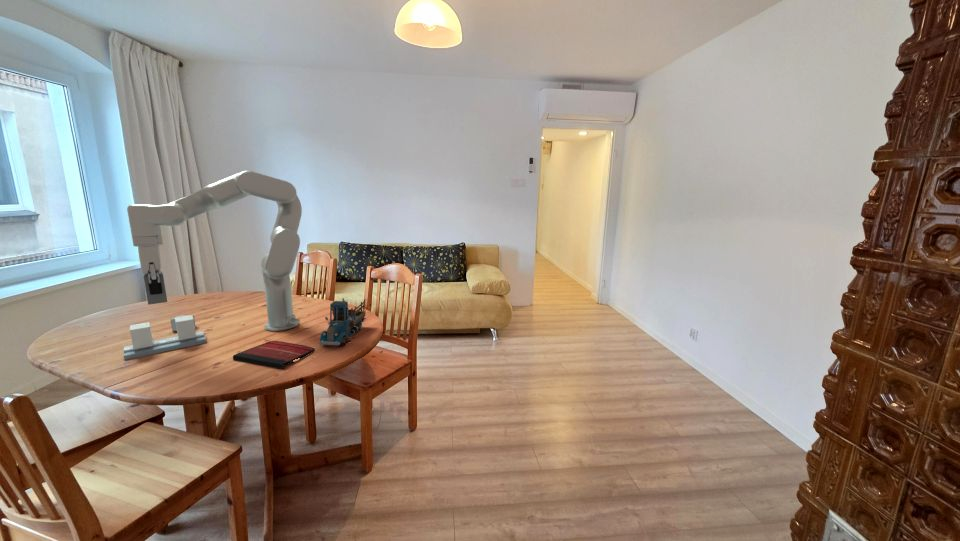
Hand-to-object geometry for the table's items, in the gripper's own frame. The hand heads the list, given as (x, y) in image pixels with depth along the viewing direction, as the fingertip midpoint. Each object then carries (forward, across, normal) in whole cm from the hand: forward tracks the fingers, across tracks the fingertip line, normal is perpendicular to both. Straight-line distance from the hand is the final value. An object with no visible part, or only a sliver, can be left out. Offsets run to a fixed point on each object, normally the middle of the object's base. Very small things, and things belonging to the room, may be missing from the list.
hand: (156, 291), depth 127 cm
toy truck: (+20, +32, +53) cm, 65 cm away
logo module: (+4, 0, 0) cm, 4 cm away
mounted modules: (+18, 0, 0) cm, 18 cm away
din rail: (+19, 0, 0) cm, 19 cm away
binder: (+21, +32, +28) cm, 48 cm away
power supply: (+21, -17, +7) cm, 28 cm away
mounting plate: (+21, 0, 0) cm, 21 cm away
